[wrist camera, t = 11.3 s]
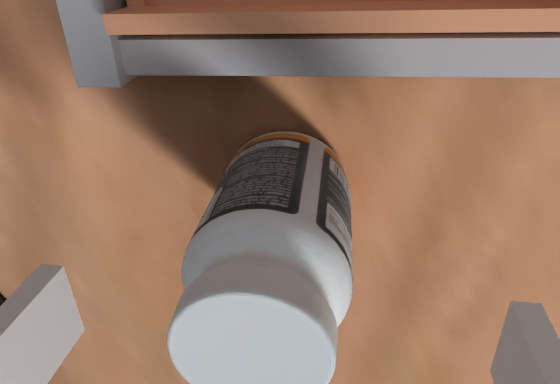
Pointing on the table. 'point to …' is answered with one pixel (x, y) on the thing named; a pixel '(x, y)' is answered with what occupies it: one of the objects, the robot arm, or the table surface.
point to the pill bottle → (268, 269)
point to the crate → (331, 16)
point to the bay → (296, 52)
